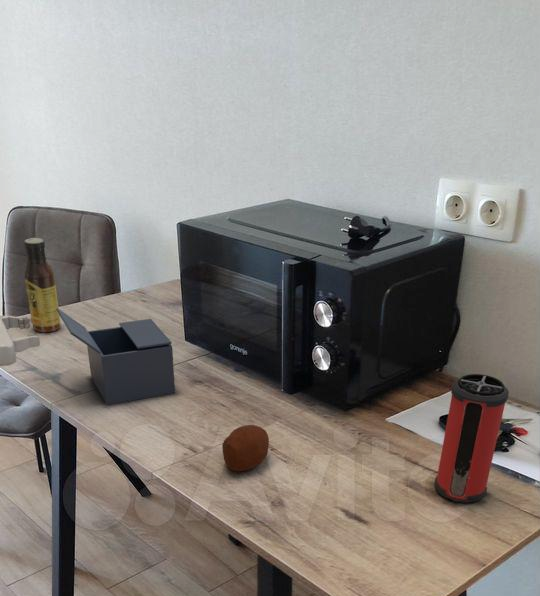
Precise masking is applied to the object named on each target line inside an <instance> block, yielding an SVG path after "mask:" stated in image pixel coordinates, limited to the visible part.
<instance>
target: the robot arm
mask: <svg viewBox="0 0 540 596" xmlns="http://www.w3.org/2000/svg"><path fill="white" fill-rule="evenodd" d="M30 327H31V322H30V319H29V317H28V316H14V315H13V316H12V315H0V367H6V366H11V365H13V364H15V363H17V353H22V352H24V351H26V350H28V349H30V348H36V347H40V346H41V341H40V340H41V339H40V337H39V335H38V334H37V333H31V334H27V335H26V336H24V337H23V336H22V337H11V334H10V333H9V331H8V330H10V329H20V330H25V329H29V328H30Z"/></svg>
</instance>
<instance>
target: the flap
mask: <svg viewBox="0 0 540 596" xmlns="http://www.w3.org/2000/svg"><path fill="white" fill-rule="evenodd" d="M56 310H57V312H58V314H59V315H60V320H61V321H62V322H63V324H64V326H65V327H66V329H67V330H68V332H69V334H70V335H71V336H73V337H74V338H76V339H77V340H78V341H80V342H82V343H83V344H84V345H86V346H87V345H88V346H89V347H90V348H92V349H93V350H95V351H96V352H98V353H99V354H100V353H101V351H100V350H99V348H98V346H97V345H96V343H95V342H94V340H93V339H92V337H91V336H90V334H89V333H88V331H89V330H87V328H86V327H85V326H84V325H83V324H81V323H80V322H79V321H77V320H76V319H74V318H72V317H71V316H70V315H68V314H67V313H66V312H64V311H63V310H61V309H60V308H59V309H58V308H57V309H56Z"/></svg>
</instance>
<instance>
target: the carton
mask: <svg viewBox="0 0 540 596" xmlns="http://www.w3.org/2000/svg"><path fill="white" fill-rule="evenodd" d="M118 324H119V326H117V327H116V326H115V327H109V328H101V329H95V330H87V331H88V333H89V334H90V336H91V337H92V339H93V340H94V342H95V343H96V345H97V346H98V348H99V350H100V351H101V353H100V354H99V353H98V352H96V351H95V350H93V349H92V348H90V347H89V346H88V345H86V346H87V347H86V348H87V355H88V363H89V370H90V377H91V380H92V381H93V383H94V385H95V386H96V388H97V390H98V391H99V393H100V395H101V397H102V398H103V400H104V402H105V404H106V405H107V406H109V405H110V406H111V405H116V404H122V403H126V402H131V401H138V400H144V399H150V398H154V397H161V396H166V395H173V394H176V388H175V387H176V385H175V370H174V369H175V368H174V355H173V354H174V353H173V345H172V344H173V343H172V341H171V339H170V338H169V337H168V336H167V335H166V334H165V333H164V332H163V330H161V329H160V327H159V326H158V325H157V324H156V323H155V321H153V319H152V318H147V319H146V318H145V319H139V320H132V321H125V322H119V323H118Z"/></svg>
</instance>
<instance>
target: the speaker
mask: <svg viewBox="0 0 540 596" xmlns="http://www.w3.org/2000/svg"><path fill="white" fill-rule="evenodd" d="M450 393H451V398H450V403H449V409H448V414H447V420H446V425H445V431H444V435H443V442H442V447H441V452H440V458H439V464H438V470H437V475H436V477H435V479H434V488H435V490H436V491H437V492H438V493H439V494H440V495H441V496H442V497H444V498H446V499H448V500H451V501H454V502H456V503H462V504H465V503H473V502H477V501H480V500H482V499H483V498H484V497H485V496H486V494H487V490H488V487H487V485H488V481H489V475H490V471H491V467H492V464H493V463H492V462H493V459H494V454H495V450H496V445H497V441H498V437H499V432H500V428H501V424H502V419H503V414H504V410H505V406H506V403H507V402H508V400H509V394H510V391H509V389H508V388H507V387H506V386H505V384H504V383H503V381H501V380H500V379H498V378H496V377H494V376H491V375H487V374H481V373H471V374H466V375H463V376H460V378H458V379H456V380H455V381H454V382H452V385H451V390H450Z"/></svg>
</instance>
